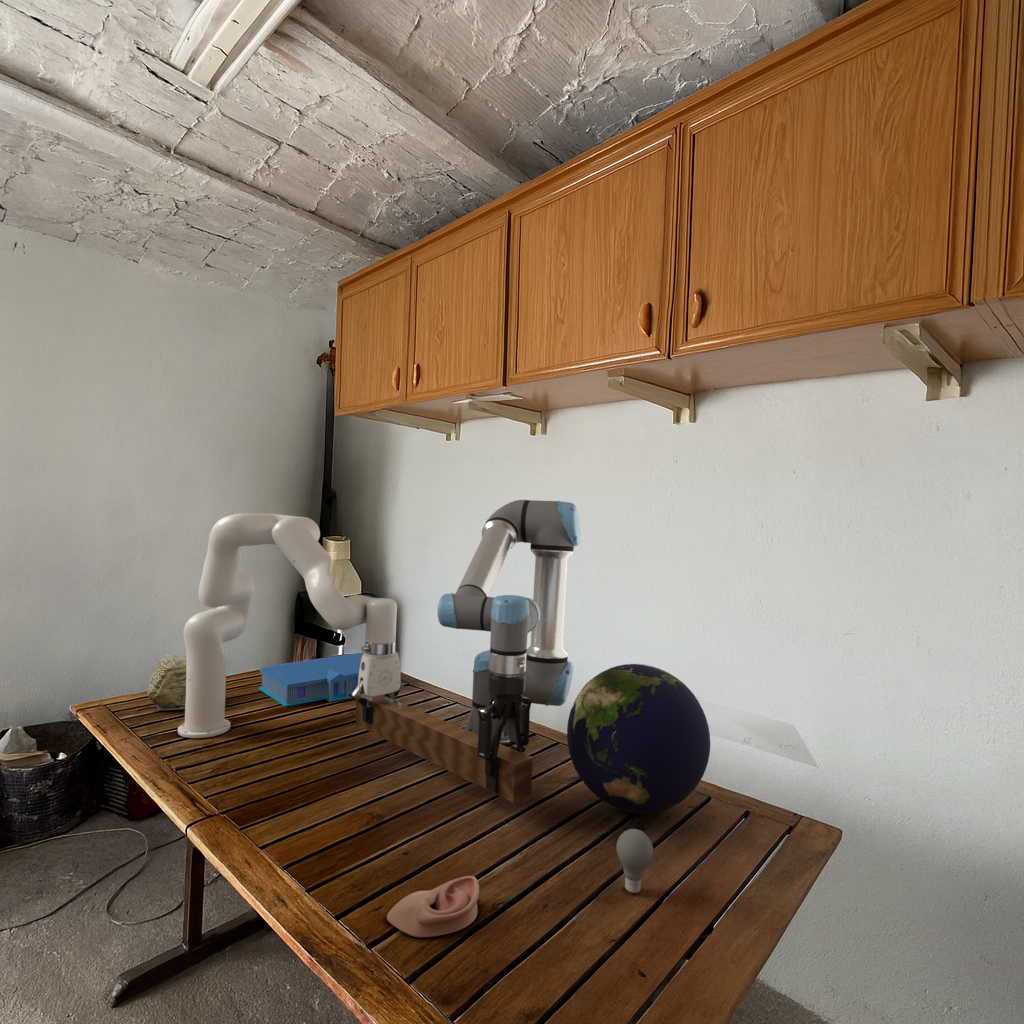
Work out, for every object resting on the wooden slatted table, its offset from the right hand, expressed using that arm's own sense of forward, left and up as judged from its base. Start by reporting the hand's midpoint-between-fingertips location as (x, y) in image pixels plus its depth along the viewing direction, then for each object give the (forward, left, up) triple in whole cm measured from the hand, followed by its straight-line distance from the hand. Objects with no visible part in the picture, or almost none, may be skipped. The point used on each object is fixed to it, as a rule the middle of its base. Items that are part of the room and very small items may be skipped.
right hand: (502, 785), depth 129 cm
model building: (-63, -74, -6) cm, 97 cm away
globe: (-13, +26, -6) cm, 30 cm away
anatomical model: (+33, -2, -6) cm, 33 cm away
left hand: (-22, -38, +2) cm, 44 cm away
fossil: (-32, -104, -6) cm, 109 cm away
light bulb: (+17, +27, -6) cm, 33 cm away
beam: (-11, -19, -1) cm, 22 cm away
